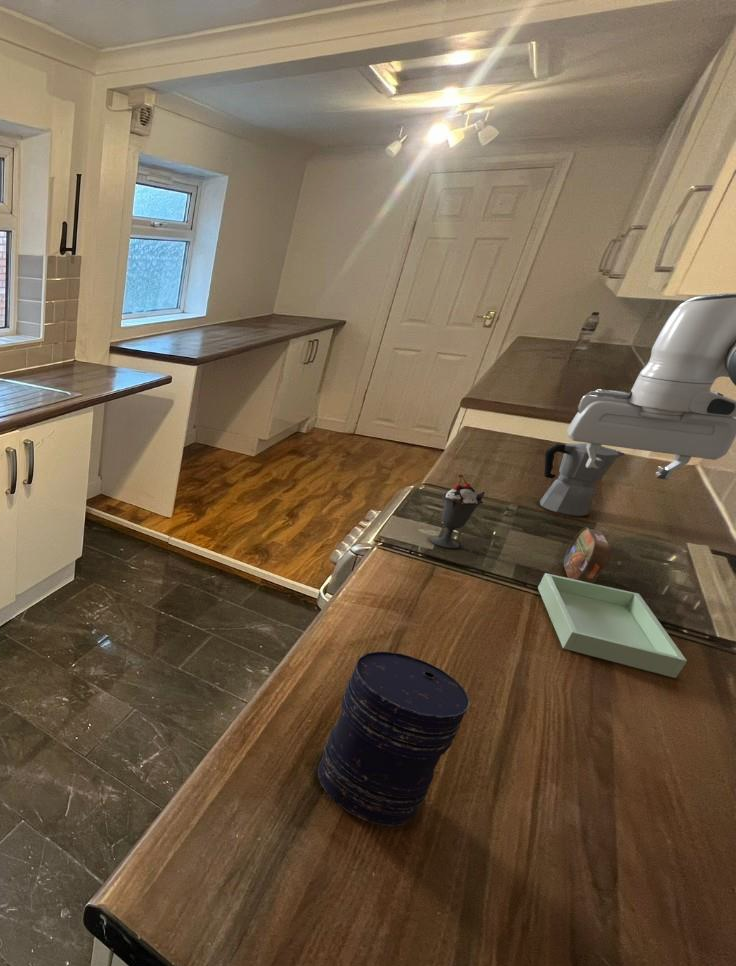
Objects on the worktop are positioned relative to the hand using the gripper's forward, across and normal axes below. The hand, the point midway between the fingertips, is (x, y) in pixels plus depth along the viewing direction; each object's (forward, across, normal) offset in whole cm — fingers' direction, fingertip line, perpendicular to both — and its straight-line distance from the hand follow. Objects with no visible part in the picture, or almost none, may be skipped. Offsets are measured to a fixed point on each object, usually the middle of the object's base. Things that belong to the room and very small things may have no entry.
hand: (625, 472), depth 104 cm
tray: (+19, -2, -26) cm, 32 cm away
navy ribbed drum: (+20, -33, -83) cm, 91 cm away
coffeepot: (+20, +3, +37) cm, 42 cm away
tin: (+20, -1, -5) cm, 20 cm away
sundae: (+20, -22, -3) cm, 29 cm away
